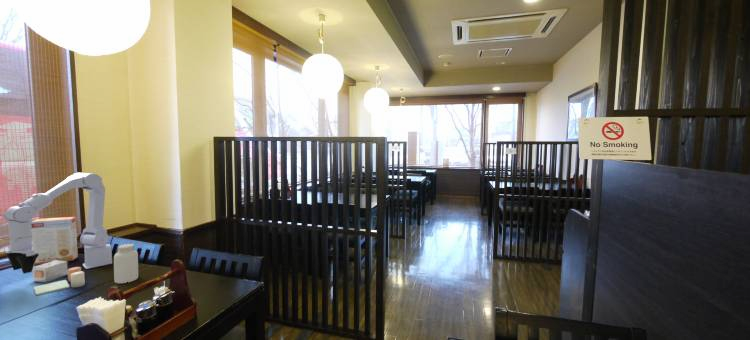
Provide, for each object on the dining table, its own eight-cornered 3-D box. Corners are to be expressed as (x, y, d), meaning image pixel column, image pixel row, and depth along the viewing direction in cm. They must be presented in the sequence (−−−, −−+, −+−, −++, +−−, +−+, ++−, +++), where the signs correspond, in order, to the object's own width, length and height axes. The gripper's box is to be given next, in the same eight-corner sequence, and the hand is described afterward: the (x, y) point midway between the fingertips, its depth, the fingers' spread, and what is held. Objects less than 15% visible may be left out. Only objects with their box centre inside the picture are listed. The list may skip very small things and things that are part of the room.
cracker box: (78, 257, 154) (76, 216, 152) (72, 261, 149) (71, 218, 147) (40, 260, 148) (38, 218, 146) (32, 265, 143) (30, 221, 141)
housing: (57, 273, 135) (56, 259, 135) (68, 274, 134) (68, 260, 134) (32, 281, 126) (31, 267, 126) (44, 283, 126) (43, 268, 125)
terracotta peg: (80, 277, 132) (80, 266, 131) (82, 280, 129) (81, 268, 129) (67, 280, 129) (66, 268, 128) (69, 283, 126) (68, 271, 126)
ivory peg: (83, 282, 127) (83, 270, 127) (85, 285, 125) (85, 273, 125) (70, 285, 124) (69, 273, 124) (71, 288, 122) (71, 276, 121)
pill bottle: (142, 277, 133) (142, 244, 132) (122, 285, 126) (121, 249, 124) (130, 274, 136) (129, 241, 135) (109, 282, 128) (108, 247, 127)
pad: (65, 281, 128) (65, 279, 128) (69, 287, 122) (69, 286, 122) (33, 288, 121) (33, 286, 121) (36, 295, 115) (36, 294, 115)
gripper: (-4, 237, 118) (-2, 271, 119) (14, 242, 113) (16, 278, 114) (22, 232, 125) (24, 264, 126) (41, 237, 119) (42, 271, 120)
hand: (22, 270), depth 120 cm, fingers open, 7 cm apart
